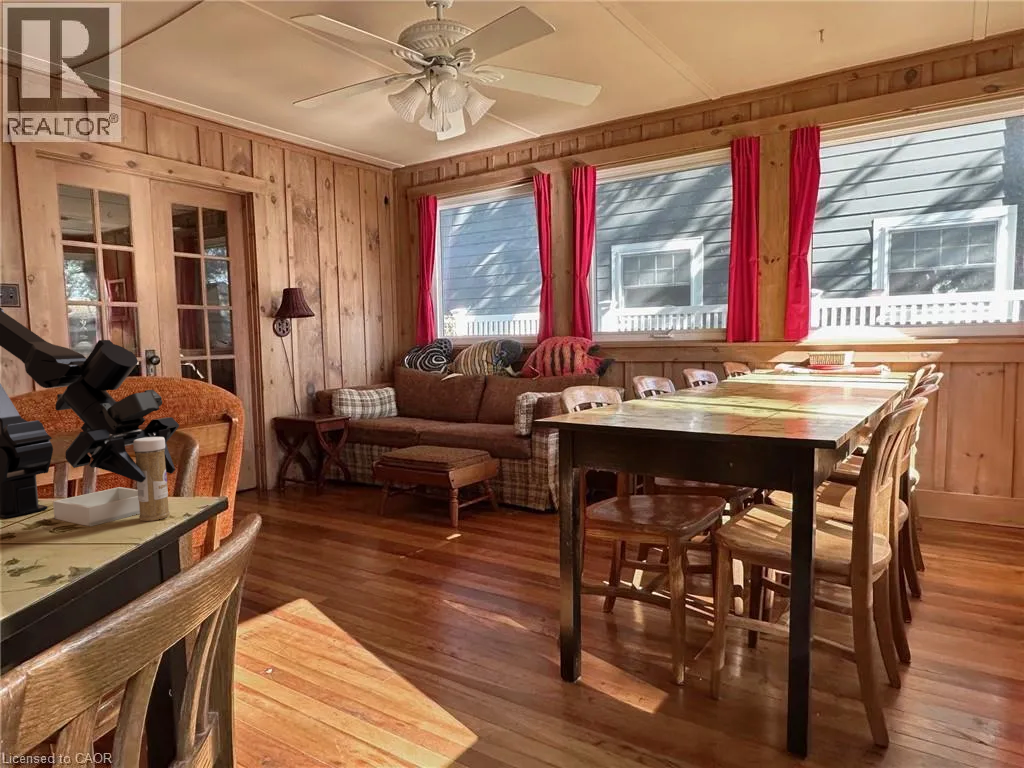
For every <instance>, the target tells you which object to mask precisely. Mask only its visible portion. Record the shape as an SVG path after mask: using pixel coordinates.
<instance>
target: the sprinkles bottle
mask: <svg viewBox="0 0 1024 768" xmlns="http://www.w3.org/2000/svg"><path fill="white" fill-rule="evenodd" d="M132 446H133V452H134V455H135V463H136V464H137V466H138V467H139V468H140V469H141V471H142V472H143V474H144V475H145V477H146V479H145V480H144V481H143V482H138V481H136V486H137V487H136V488H137V489H136V490H138V500H139V507H140V514H139V516H138V519H139V520H140V521H142V522H143V521H144V522H152V521H159V519H160V520H162V519H166V518H167V516H168V517H170V513H171V512H170V509H169V498H168V496H169V492H168V479H167V478H168V477H167V476H168V475H167V472H166V466H165V454H164V451H165V450H164V448H165V438H164V437H146V438H139V439H136V440H134V441H133V444H132Z"/></svg>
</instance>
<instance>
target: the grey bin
mask: <svg viewBox="0 0 1024 768" xmlns="http://www.w3.org/2000/svg"><path fill="white" fill-rule="evenodd" d="M52 503H53V515H54V517H53V518H54V520H59V521H63V522H67V523H68V522H69V523H73V524H77V525H82V526H86V527H93V526H97V525H101V524H105V523H110V522H113V521H117V520H121V519H126V518H128V517H129V518H130V517H132V515H133V516H137V515H140V507H139V500H138V490H137V489H134V488H131V487H130V488H129V487H122V486H118V487H113V488H108V489H105V490H99V491H93V492H90V493H85V494H81V495H76V496H71V497H67V498H62V499H57V500H53V501H52ZM136 514H137V515H136Z"/></svg>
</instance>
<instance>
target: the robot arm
mask: <svg viewBox="0 0 1024 768" xmlns="http://www.w3.org/2000/svg"><path fill="white" fill-rule="evenodd" d="M0 347H1V348H3V349H4V350H5V351H7V352H8V353H10V354H11V355H13V356H14V357H16V359H19V360H20V361H21V362H22V364H24V368H25V369H24V370H25V373H26V374H27V375H28V376H29V377H30V378H31V379H32V380H33V381H34V382H35V383H36V384H37V385H38V386H39V387H42V388H44V389H53V388H55V389H56V388H65V387H66V389H65V390H64V391H63V393H59V394H57V395H56V399H57V400H56V402H55V407H54V408H55V410H56V411H64V410H72V411H73V412H74V413H75V414H76V416H78V418H79V419H80V420H81V421H82V423H83V424H82V426H81V427H80V429H81V431H80V432H79V433H78V434H77V436H76V437H75V439H73V441H72V442H71V443H70V445H69V446H68V448H67V449H66V451H65V461H67V462H68V464H70V466H71V467H72V468H73V469H75V468H79V467H84V466H88V465H89V467H90V468H92V469H94V468H96V469H101V470H103V471H106V472H107V471H108V472H110V473H114V474H116V475H119V476H122V477H125V478H128V479H130V480H132V481H136V482H137V481H138V482H143V481H144V480H145V479H146V477H145V475H144V474H143V472H142V471H141V469H140V468H139V467H138V466H137V464H136V461H135V460H134V459H133V458H132V457H131V456H130V454H129V453H128V452H127V449H126V446H131V445H132V446H133V441H134V440H136V439H139V438H146V437H164V438H165V448H164V450H165V451H164V454H165V466H166V473H167V474H170V475H171V474H174V473H175V471H176V468H175V467H176V466H175V465H174V461H173V459H172V457H171V454H170V451H169V448H168V444H167V442H168V441H169V440H170V438H171V437H172V436H173V435H174V433H175V432H176V431H177V430H178V429H179V428H180V424H179V423H178V422H177V421H176V420H175V419H174V417H173V416H170V417H169V416H168V417H166V416H165V417H161V418H154V419H151V420H150V421H149V422H148V424H147V425H146V426H145V428H144V429H140V426H142V425H143V424H144V423H145V422H146V419H145V418H144V417H146V416H148V415H150V414H151V413H154V412H158V411H159V410H160V407H161V406H162V405H163V400H162V398H163V397H162V396H161V395H160V394H159V393H158V392H156V391H155V390H154V389H146V390H144V391H143V392H136V393H132V394H129V395H127V396H126V397H123V398H122V399H120V400H119V401H116V399H114V398H113V396H112V395H111V394H109V392H108V391H115V390H118V389H119V388H120V387H121V385H122V384H123V383H124V381H126V379H127V378H128V376H129V375H130V373H132V371H133V370H134V368H135V367H136V366H137V365H138V358H137V356H136V355H135V354H134V353H133V352H132V351H130V350H128V349H126V348H125V347H123V346H121V345H119V344H118V345H117V344H115V343H113V342H112V341H111V340H110V339H99V340H97V342H96V343H95V345H94V348H93V350H91V353H89V355H88V356H87V357H86V356H85V355H84V354H82V353H79V352H77V351H76V350H74V349H70V348H68V347H64V346H61V345H56V344H53V343H50V342H48V341H47V340H45V339H44V338H42V337H41V336H39V335H38V334H37V333H35V332H34V331H33V330H31V329H29V328H28V327H26V326H24V325H23V324H22V323H20V322H19V321H18V320H16V319H15V318H13V317H11V316H10V315H9V314H7V313H6V312H5V311H4V309H3V308H2V307H1V306H0ZM52 439H53V438H52V437H51V436H50V434H48V433H47V431H46V430H45V427H44V424H43V423H42V422H41V421H40V420H30V421H28V420H26V419H24V418H23V417H22V416H21V415H20V413H19V411H18V410H17V409H16V407H15V405H14V403H13V401H12V399H11V398H10V397H9V395H8V393H7V392H6V390H5V389H4V387H3V385H2V384H1V382H0V517H1V518H3V519H4V518H5V519H7V518H12V517H17V516H21V515H26V514H30V513H34V512H39V511H44V510H47V509H48V505H43V504H40V503H39V498H38V497H39V496H38V495H39V494H38V485H37V483H38V482H37V475H38V476H39V475H41V474H48V473H49V471H50V466H51V462H52V461H51V460H52V457H53V451H54V447H53V444H52V442H51V440H52ZM88 453H89V454H90V455H91V456H90V455H89V454H88ZM91 460H92V461H91Z"/></svg>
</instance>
